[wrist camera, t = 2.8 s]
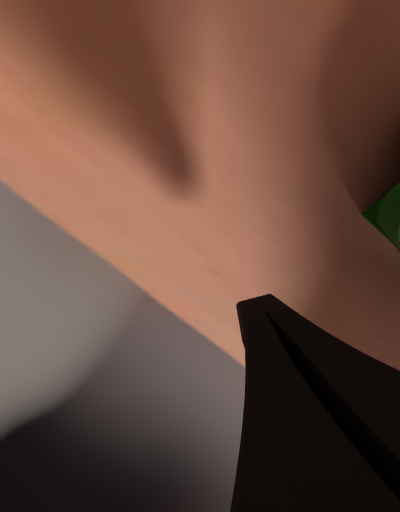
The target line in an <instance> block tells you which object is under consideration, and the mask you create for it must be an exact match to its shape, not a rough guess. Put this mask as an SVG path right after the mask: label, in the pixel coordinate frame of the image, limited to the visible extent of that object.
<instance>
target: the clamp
mask: <svg viewBox="0 0 400 512" xmlns="http://www.w3.org/2000/svg"><path fill="white" fill-rule="evenodd" d="M362 215H363V216H364V217H365V218H366V219H367V221H369V222H370V223H371V224H372V225H373V226H374V227H375V228H376V229H377V230H378V231H379V232H381V233H382V234H383V235H384V236H385V237H386V238H387V239H388V240H389V241H390V242H391V243H393V244H394V245H395V246H396V247H397V248H398V249H399V250H400V183H398V184H397V185H396V186H394V187H393V188H392V189H391V190H390V191H389V192H388V194H387V195H386V196H384V197H383V198H382V199H380V200H379V201H377V202H376V203H375V204H373V205H372V206H370V207H369V208H368V209H367V210H366V211H365V212H364V213H363V214H362Z"/></svg>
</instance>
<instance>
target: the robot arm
mask: <svg viewBox="0 0 400 512" xmlns="http://www.w3.org/2000/svg"><path fill="white" fill-rule="evenodd" d="M236 307H237V313H238V319H239V325H240V330H241V336H242V341H243V344H244V347H245V365H246V376H245V400H244V401H245V402H244V413H243V426H242V434H241V443H240V450H239V457H238V465H237V471H236V479H235V485H234V492H233V498H232V503H231V509H230V512H400V371H399V370H397V369H395V368H392V367H390V366H388V365H386V364H384V363H382V362H380V361H378V360H376V359H374V358H372V357H370V356H368V355H366V354H364V353H362V352H360V351H359V350H357V349H355V348H353V347H351V346H350V345H348V344H346V343H344V342H343V341H341V340H339V339H338V338H336V337H334V336H332V335H331V334H329V333H328V332H326V331H324V330H323V329H321V328H320V327H318V326H316V325H315V324H313V323H312V322H310V321H309V320H307V319H306V318H304V317H303V316H301V315H300V314H298V313H297V312H295V311H294V310H293V309H291V308H290V307H288V306H287V305H286V304H284V303H283V302H281V301H280V300H279V299H277V298H276V297H274V296H273V295H271V294H267V295H263V296H259V297H255V298H252V299H248V300H244V301H240V302H238V303H237V305H236Z"/></svg>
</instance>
